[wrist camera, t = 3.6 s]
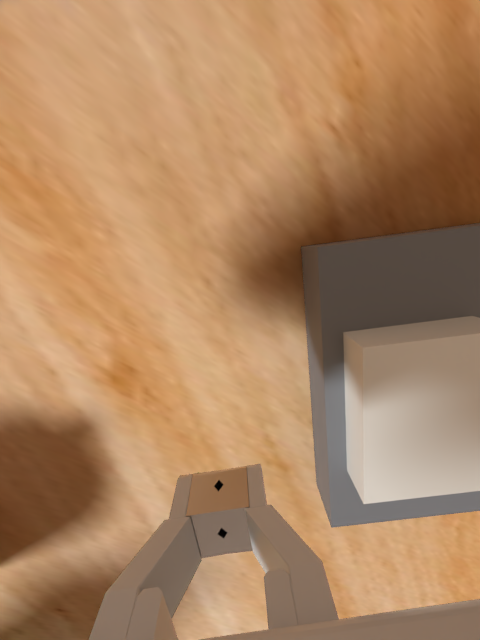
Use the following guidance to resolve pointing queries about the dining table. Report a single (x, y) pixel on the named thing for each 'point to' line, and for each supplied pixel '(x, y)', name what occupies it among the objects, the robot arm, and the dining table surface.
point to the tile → (413, 409)
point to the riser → (374, 312)
